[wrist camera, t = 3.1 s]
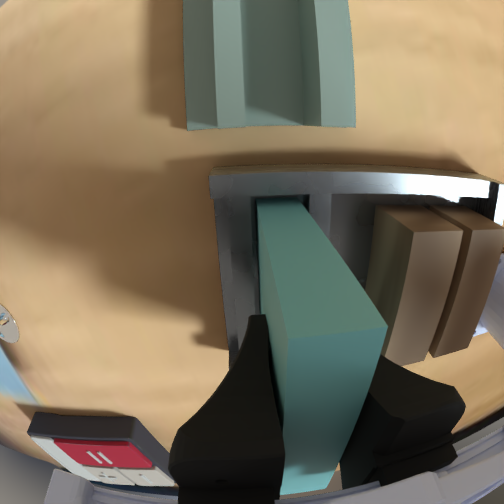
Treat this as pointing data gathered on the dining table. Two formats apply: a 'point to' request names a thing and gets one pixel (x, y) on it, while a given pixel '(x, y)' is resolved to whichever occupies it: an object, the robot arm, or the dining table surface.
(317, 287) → the teal flat block
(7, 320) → the wineglass
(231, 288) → the rack
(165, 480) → the black red box
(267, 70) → the stand
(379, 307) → the offcut
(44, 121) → the dining table surface
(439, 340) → the offcut
